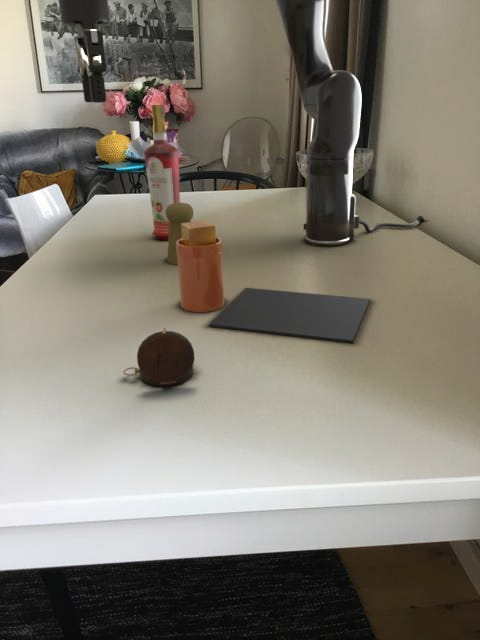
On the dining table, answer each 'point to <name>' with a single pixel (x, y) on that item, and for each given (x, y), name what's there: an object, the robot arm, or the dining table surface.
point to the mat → (294, 314)
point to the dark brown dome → (165, 358)
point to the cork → (176, 226)
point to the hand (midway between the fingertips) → (95, 102)
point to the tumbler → (200, 276)
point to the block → (198, 233)
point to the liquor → (162, 174)
